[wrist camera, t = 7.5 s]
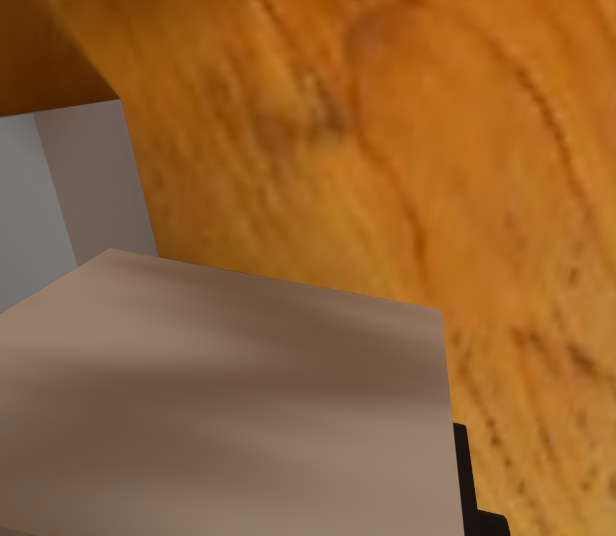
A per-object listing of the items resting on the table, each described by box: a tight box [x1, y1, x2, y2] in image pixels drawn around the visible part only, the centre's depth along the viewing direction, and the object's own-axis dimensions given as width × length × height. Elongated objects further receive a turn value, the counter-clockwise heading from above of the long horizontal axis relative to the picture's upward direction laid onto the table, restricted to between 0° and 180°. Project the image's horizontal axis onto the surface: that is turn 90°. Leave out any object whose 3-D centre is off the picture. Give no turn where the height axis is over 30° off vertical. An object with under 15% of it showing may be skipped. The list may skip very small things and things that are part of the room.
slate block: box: [0, 99, 159, 314], centre depth 24 cm, size 12×14×6 cm
